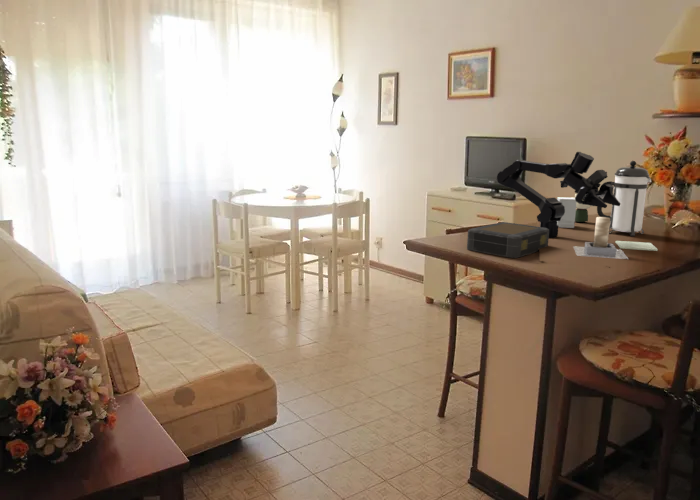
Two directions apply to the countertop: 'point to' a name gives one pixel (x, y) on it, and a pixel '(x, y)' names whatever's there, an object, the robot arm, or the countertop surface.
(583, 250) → the grey square socket base
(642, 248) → the green pad
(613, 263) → the countertop surface
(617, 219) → the coffee press
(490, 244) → the cash box
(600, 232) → the ash peg
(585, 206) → the character mug
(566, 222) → the supplement box
